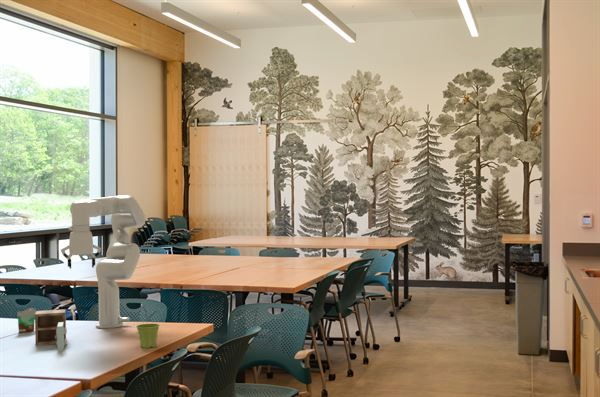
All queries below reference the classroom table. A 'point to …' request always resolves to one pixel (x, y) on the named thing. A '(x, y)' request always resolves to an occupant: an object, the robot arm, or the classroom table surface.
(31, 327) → the food container
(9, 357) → the classroom table surface
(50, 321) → the cabinet
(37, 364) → the classroom table surface
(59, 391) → the classroom table surface
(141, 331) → the plant pot
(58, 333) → the door
